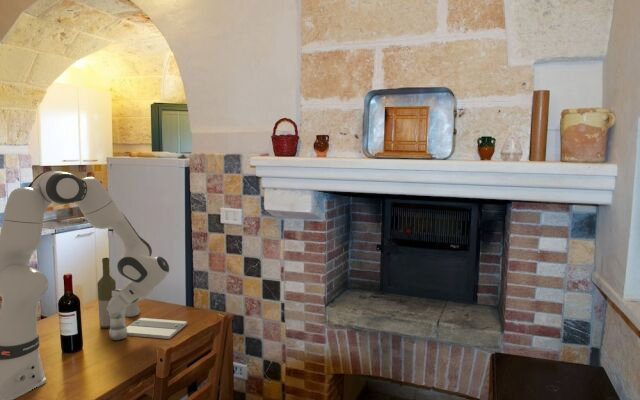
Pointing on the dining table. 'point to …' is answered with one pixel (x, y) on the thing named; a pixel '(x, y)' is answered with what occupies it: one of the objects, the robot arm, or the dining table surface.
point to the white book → (155, 328)
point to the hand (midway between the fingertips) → (116, 311)
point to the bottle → (105, 294)
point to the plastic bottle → (117, 322)
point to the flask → (132, 310)
